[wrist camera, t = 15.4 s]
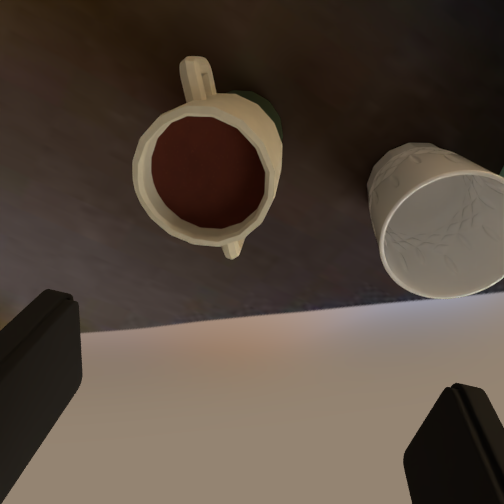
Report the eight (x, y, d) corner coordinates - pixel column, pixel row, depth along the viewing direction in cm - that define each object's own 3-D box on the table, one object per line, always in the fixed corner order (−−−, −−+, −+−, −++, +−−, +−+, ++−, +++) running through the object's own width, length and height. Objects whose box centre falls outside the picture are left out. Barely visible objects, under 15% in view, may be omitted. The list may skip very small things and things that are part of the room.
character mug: (181, 65, 28) (94, 73, 17) (277, 44, 27) (254, 38, 15) (214, 203, 33) (165, 284, 21) (297, 192, 31) (291, 273, 20)
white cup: (483, 195, 30) (557, 255, 21) (390, 247, 33) (421, 319, 24) (434, 110, 27) (494, 138, 18) (339, 175, 30) (352, 225, 21)
